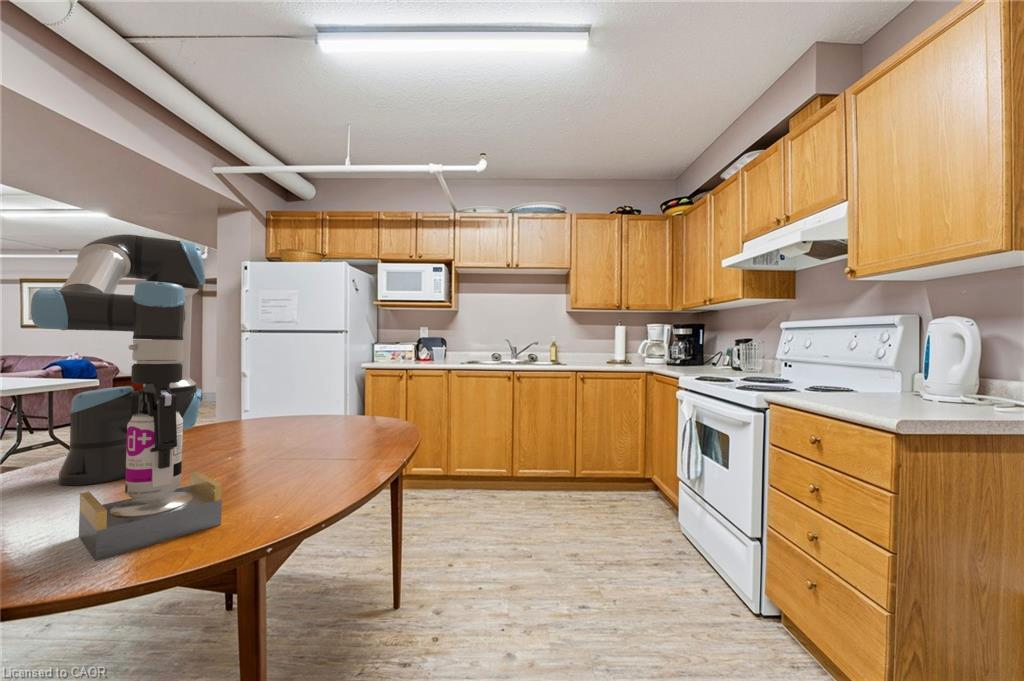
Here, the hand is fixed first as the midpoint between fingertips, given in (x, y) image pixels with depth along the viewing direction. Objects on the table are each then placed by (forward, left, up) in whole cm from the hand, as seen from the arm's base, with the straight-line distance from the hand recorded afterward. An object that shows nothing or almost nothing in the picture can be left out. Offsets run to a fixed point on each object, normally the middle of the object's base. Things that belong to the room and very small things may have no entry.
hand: (154, 479), depth 80 cm
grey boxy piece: (0, 0, -10) cm, 10 cm away
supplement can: (0, 0, -2) cm, 2 cm away
